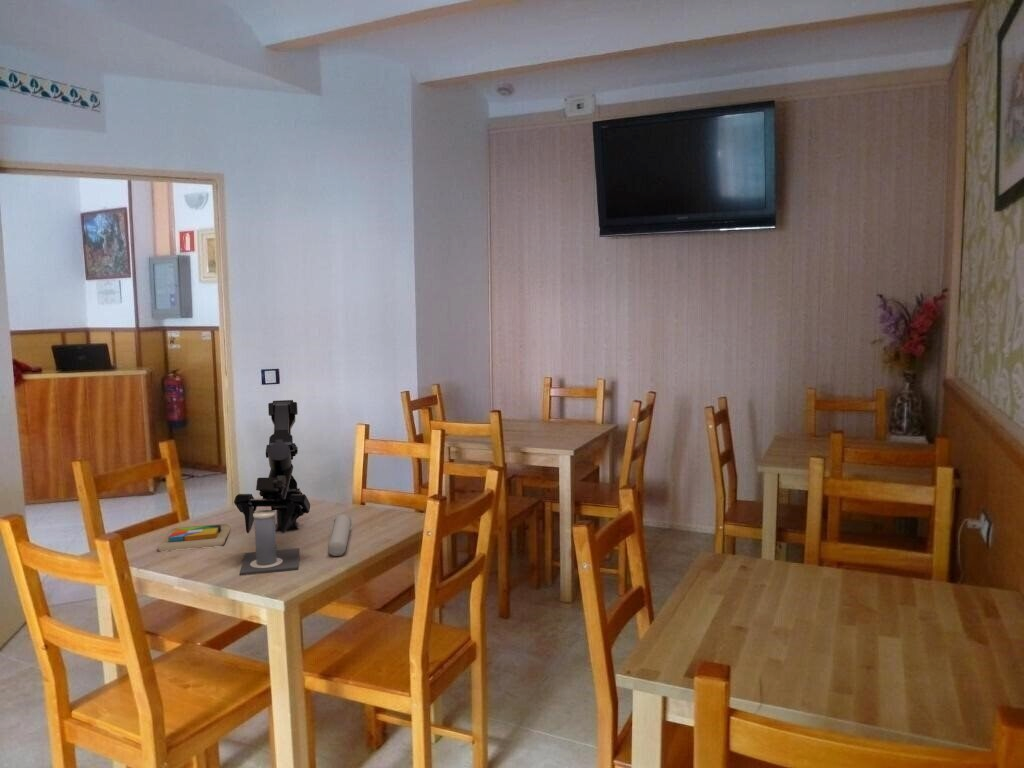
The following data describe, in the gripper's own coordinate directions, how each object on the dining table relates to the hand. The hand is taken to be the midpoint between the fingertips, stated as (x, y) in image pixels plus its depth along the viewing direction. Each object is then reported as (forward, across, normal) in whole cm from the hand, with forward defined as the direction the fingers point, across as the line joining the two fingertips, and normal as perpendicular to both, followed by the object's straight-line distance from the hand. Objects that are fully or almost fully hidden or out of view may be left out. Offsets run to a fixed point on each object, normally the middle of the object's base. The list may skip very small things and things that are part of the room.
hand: (264, 532), depth 191 cm
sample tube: (+6, 0, +6) cm, 8 cm away
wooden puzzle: (-8, -29, +22) cm, 37 cm away
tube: (-7, +14, +20) cm, 25 cm away
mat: (+5, 0, +8) cm, 9 cm away
